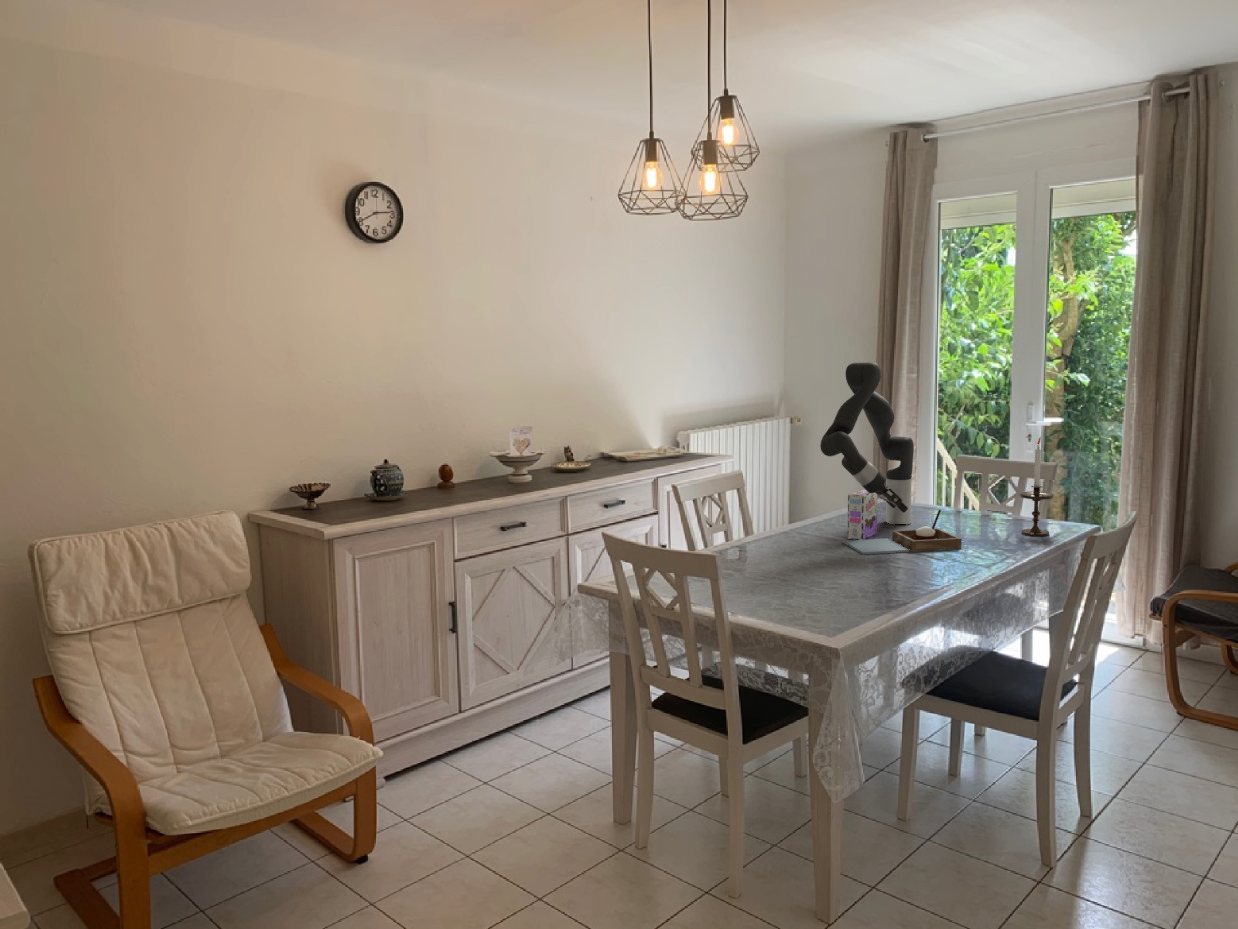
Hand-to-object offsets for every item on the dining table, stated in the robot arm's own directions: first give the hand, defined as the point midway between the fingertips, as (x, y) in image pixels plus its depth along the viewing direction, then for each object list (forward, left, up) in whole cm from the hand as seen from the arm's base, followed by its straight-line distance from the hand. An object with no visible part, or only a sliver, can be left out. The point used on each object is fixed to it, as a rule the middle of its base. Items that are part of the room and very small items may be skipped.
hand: (900, 508), depth 316 cm
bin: (0, +9, -13) cm, 16 cm away
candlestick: (-7, +53, -13) cm, 55 cm away
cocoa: (0, +9, -13) cm, 16 cm away
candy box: (-17, -7, -13) cm, 23 cm away
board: (0, -9, -13) cm, 16 cm away
